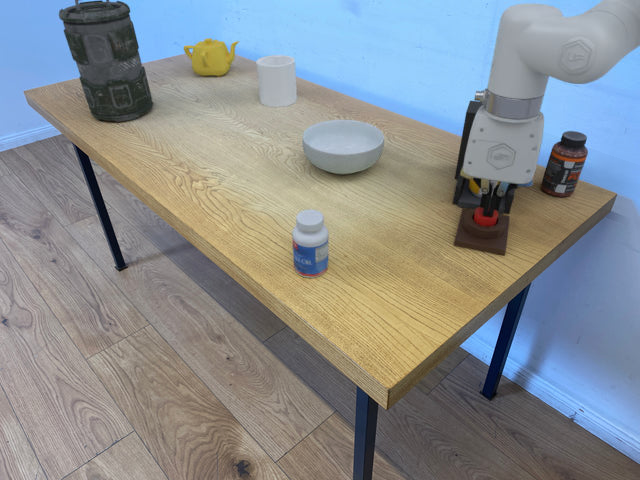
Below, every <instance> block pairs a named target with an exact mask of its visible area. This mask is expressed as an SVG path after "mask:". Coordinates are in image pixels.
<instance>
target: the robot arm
mask: <svg viewBox="0 0 640 480" xmlns="http://www.w3.org/2000/svg"><path fill="white" fill-rule="evenodd" d="M639 47H640V0H601V1H599V2H598V3H597V4H595V5H594V6H592V7H591V8H589V9H588V10H586V11H585V12H582V13H580V14H577V15H572V16H564V14H563V12H562V10H561V9H559V7H555V6H554V5H549V4H544V3H519V4H518V3H517V4H514V5H510V6H508V7H507V8H506V9H505V10H504V11H503V12H502V14H501V16H500V19H499V23H498V28H497V32H496V38H495V44H494V50H493V54H492V61H491V65H490V70H489V76H488V81H487V88H484V90H481V91H480V90H475V94H474V99H473V101H479V102H482V104H483V106H481V107H480V108H479V109H478V111H477V113H476V116H475V118H474V121H473V124H472V128H471V131H470V135H469V139H468V144H467V148H466V153H465V158H464V165H463V167H462V169H461V173H460V175H461V176H462V177H465V178H468V179H470V180H471V179H472V180H474V182H475V183H476V184H477V185H478V187H479V188H480V189H481V192H482V197H481V202H480V208H484V209H483V216H486V215H487V213H488V209H489V213H488V216H489V217H493V213H494V210H498V211H499V207H500V203H501V198H502V196H504V195H505V193H506V192H508V191H510V190H512V189H514V188H515V187H518V188H528V187H532V186H533V185H534V176H535V172H536V169H537V165H538V161H539V157H540V153H541V149H542V143H543V138H544V129H545V116H544V113H543V112H542V111H541V109H542V105H543V102H544V97H545V93H546V90H547V87H548V83H549V80H550V79H549V78H553V79H556V80H558V81H561V82H564V83H568V84H572V85H586V84H591V83H593V82H596V81H598V80H600V79H602V78H603V77H604V76H606V75H607V74H608V73H609V72H610V71H611V70H612V69H613V68H615V66H616V65H617V64H618V63H620V62H621V60H622V59H624V58H625V57H626V56H628V55H629V54H630V53H632V52H633V51H634V50H636V49H637V48H639ZM491 180H493V181H499V183H498V185H496V187H495V188H494V190H493V188H492V184H491ZM492 190H493V194H492ZM491 195H492V198H491ZM490 200H491V203H490ZM489 204H490V207H489Z"/></svg>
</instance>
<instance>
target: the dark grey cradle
mask: <svg viewBox="0 0 640 480" xmlns="http://www.w3.org/2000/svg"><path fill="white" fill-rule="evenodd" d="M481 106H483V104H482V102H479V101H476V100H469V103H468V106H467V109H466V111H465V117H464V122H463V127H462V134H461V138H460V139H461V140H460V145H459V151H458V155H457V163H456V167H455V174H454V180H457V181H456V184H455V188H454V193H453V199H452V205H455V206H457V207H458V208H462V209H463V208H465V209H476V208H478V207H480V202H481V197H478V196H476V195H474V194H473V193H472V192H471V190H470V188H469V181H470V179H468V178H465V177H462V176H461V175H460V173H461V169H462V167H463V165H464V158H465V153H466V148H467V144H468V139H469V135H470V131H471V128H472V124H473V121H474V118H475V116H476V113H477V111H478V109H479V108H480V107H481ZM518 189H519V187H515V188H514V189H512V190H510V191H508V192H506V193H505V195H504V196H502V198H501V203H500V207H499V211H498V210H496V211H497V212H498V213H500V214H501V215H504V214H506V215H510V213H511V209H512V206H513V201H514V198H515V194H516V193H515V192H516V190H518ZM490 203H491V200H490ZM489 207H490V204H489Z"/></svg>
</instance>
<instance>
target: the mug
mask: <svg viewBox="0 0 640 480" xmlns="http://www.w3.org/2000/svg"><path fill="white" fill-rule="evenodd" d="M256 72H257V73H256V74H257V81H258V93H259V94H258V95H259V101H260V104H261V105H262V106H265V107H269V108H284V107H289V106H292V105H294V104H295V103H296V102H297V101H298V94H297V93H298V92H297V91H298V90H297V75H296V73H297V72H296V60H295V58H294V57H293V56H289V55H284V54H273V55H272V54H271V55H266V56H262V57H260V58H258V59H257V60H256Z"/></svg>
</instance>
